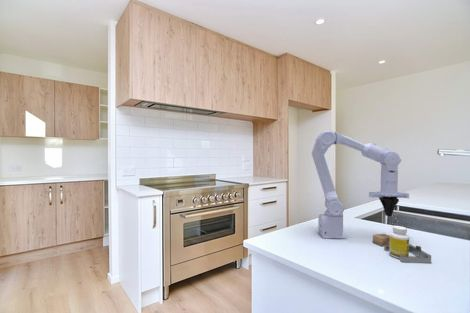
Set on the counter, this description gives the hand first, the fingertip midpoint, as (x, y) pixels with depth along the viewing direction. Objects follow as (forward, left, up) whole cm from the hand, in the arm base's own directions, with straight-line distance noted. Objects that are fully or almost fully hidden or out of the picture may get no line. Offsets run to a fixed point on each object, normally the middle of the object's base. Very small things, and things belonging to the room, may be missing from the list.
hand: (388, 215), depth 96 cm
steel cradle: (-3, -15, -10) cm, 18 cm away
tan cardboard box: (-4, -4, -10) cm, 11 cm away
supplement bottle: (-5, -15, -10) cm, 19 cm away
